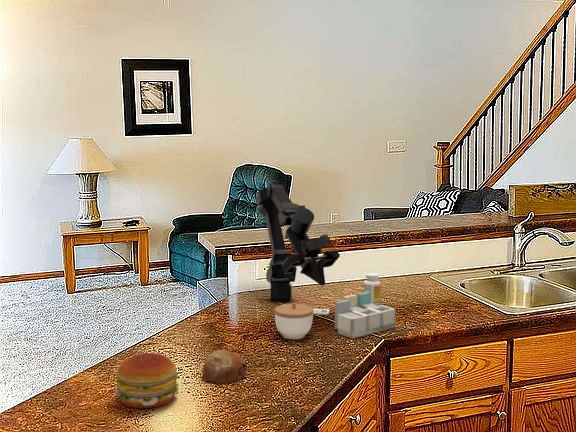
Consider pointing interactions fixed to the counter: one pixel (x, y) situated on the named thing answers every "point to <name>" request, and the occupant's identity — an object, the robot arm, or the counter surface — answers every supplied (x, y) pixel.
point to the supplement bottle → (373, 287)
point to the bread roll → (223, 367)
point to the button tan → (355, 304)
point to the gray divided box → (366, 322)
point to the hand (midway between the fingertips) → (323, 284)
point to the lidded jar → (293, 320)
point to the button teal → (366, 301)
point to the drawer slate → (343, 310)
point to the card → (321, 311)
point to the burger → (146, 380)
